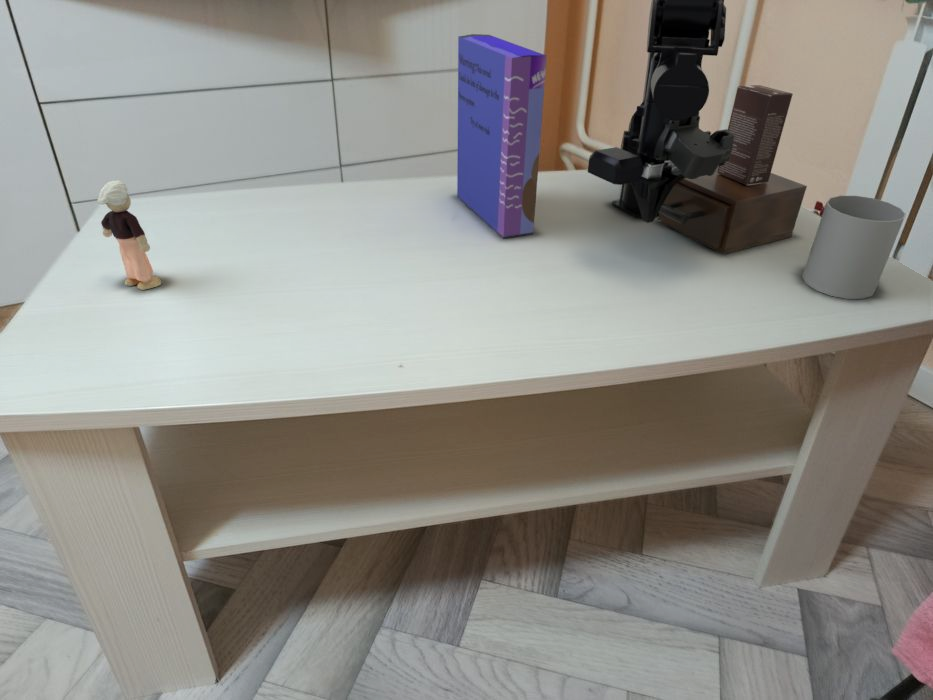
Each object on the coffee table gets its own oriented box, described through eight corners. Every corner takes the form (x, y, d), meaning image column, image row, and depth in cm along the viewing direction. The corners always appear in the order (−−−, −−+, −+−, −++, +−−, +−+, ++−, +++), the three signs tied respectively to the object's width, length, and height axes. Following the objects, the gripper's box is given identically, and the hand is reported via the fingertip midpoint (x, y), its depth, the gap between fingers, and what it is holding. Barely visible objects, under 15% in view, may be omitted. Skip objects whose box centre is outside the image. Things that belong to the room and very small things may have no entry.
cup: (883, 302, 80) (915, 224, 74) (811, 295, 81) (837, 218, 76) (863, 271, 87) (891, 198, 81) (796, 265, 88) (820, 192, 83)
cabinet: (723, 254, 91) (736, 201, 86) (660, 222, 100) (669, 172, 96) (791, 236, 96) (807, 185, 92) (725, 207, 105) (737, 160, 101)
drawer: (692, 254, 88) (701, 213, 85) (636, 224, 97) (642, 185, 94) (778, 232, 95) (790, 193, 92) (719, 205, 103) (728, 169, 100)
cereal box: (533, 233, 95) (546, 53, 82) (503, 238, 94) (512, 56, 81) (484, 193, 109) (489, 33, 96) (457, 197, 107) (458, 34, 94)
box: (770, 182, 93) (795, 92, 86) (745, 187, 91) (769, 95, 84) (738, 169, 97) (760, 83, 91) (715, 173, 96) (735, 85, 89)
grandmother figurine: (176, 280, 82) (151, 180, 75) (155, 294, 79) (126, 191, 72) (126, 270, 84) (97, 172, 77) (103, 283, 81) (70, 182, 74)
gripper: (658, 124, 71) (635, 257, 79) (776, 107, 79) (743, 230, 87) (592, 102, 79) (578, 225, 87) (705, 88, 87) (682, 203, 95)
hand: (647, 221), depth 89 cm, fingers closed
